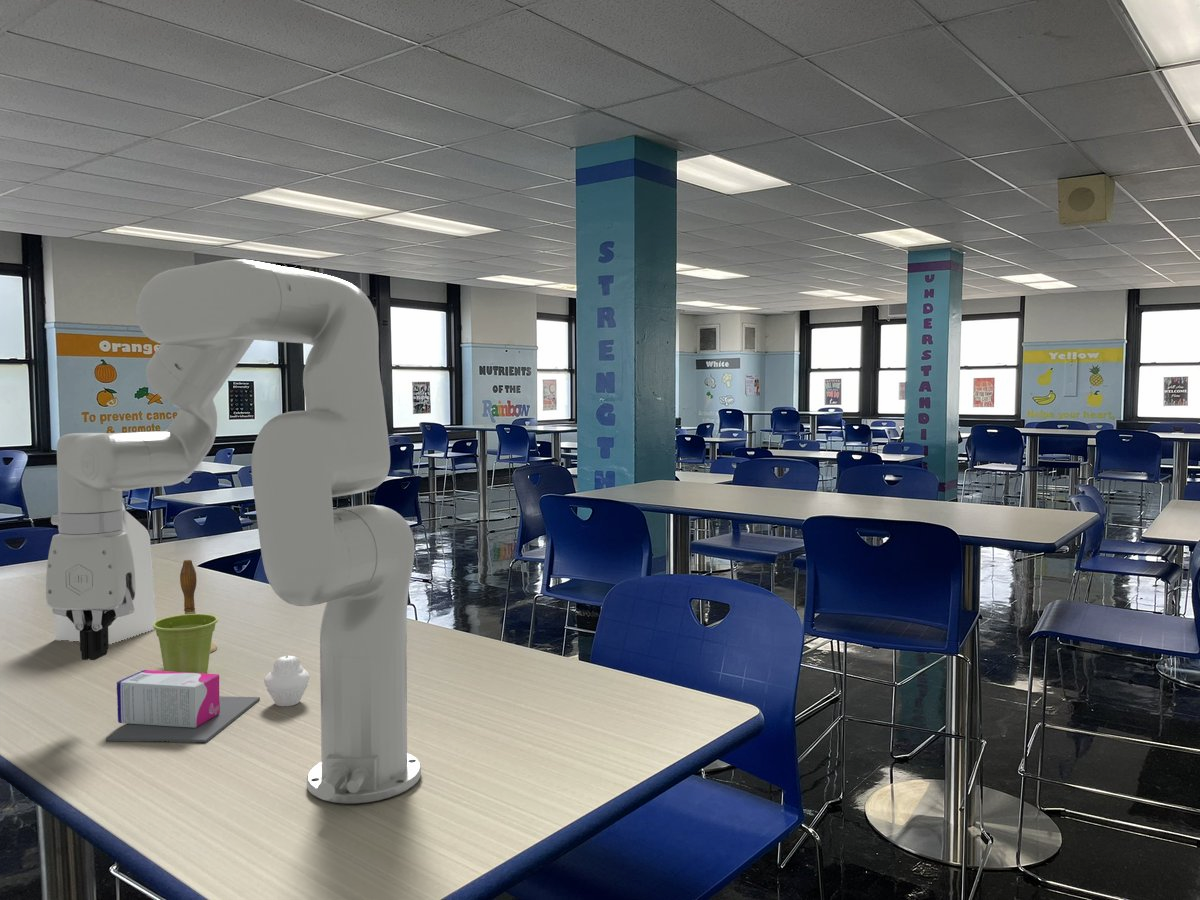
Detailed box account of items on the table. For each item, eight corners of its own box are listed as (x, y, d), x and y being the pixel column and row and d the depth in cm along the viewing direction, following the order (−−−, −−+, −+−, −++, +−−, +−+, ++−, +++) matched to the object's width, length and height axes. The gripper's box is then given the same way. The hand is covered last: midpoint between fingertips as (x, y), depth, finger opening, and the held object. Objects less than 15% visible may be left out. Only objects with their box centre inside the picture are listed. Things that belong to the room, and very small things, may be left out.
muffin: (319, 700, 126) (318, 653, 126) (284, 713, 121) (283, 664, 120) (290, 693, 129) (289, 646, 129) (255, 705, 124) (254, 657, 123)
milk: (55, 640, 157) (50, 497, 156) (105, 624, 169) (101, 491, 167) (110, 644, 154) (106, 499, 153) (157, 628, 166) (154, 493, 164)
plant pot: (232, 668, 141) (231, 615, 140) (190, 686, 132) (188, 630, 131) (184, 663, 143) (183, 611, 143) (139, 681, 134) (138, 626, 134)
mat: (206, 742, 110) (206, 739, 110) (106, 740, 111) (106, 737, 111) (259, 699, 126) (259, 697, 126) (172, 698, 127) (172, 695, 127)
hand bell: (171, 661, 145) (169, 566, 144) (159, 650, 151) (157, 559, 151) (223, 652, 150) (221, 561, 149) (209, 641, 157) (207, 554, 156)
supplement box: (117, 725, 115) (195, 729, 113) (115, 681, 115) (193, 684, 113) (147, 710, 121) (221, 714, 119) (145, 668, 121) (220, 671, 119)
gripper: (18, 527, 114) (22, 664, 115) (129, 528, 113) (132, 666, 114) (55, 519, 121) (59, 648, 122) (160, 520, 121) (163, 650, 122)
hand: (94, 656), depth 118 cm, fingers closed
